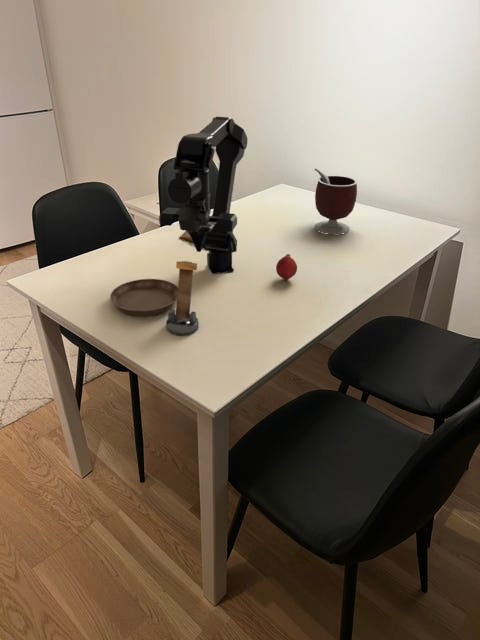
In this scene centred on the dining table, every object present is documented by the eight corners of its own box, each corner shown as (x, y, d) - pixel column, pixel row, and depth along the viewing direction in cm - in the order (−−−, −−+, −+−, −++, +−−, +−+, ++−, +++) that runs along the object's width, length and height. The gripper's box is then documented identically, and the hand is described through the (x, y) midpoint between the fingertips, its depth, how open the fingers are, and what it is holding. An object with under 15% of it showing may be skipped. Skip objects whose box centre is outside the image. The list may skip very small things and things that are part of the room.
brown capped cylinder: (176, 314, 120) (180, 260, 118) (195, 317, 119) (199, 262, 117) (169, 317, 115) (173, 260, 113) (188, 320, 114) (193, 263, 112)
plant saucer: (142, 282, 139) (141, 272, 137) (194, 298, 131) (193, 287, 129) (96, 309, 125) (95, 298, 124) (151, 328, 118) (150, 317, 116)
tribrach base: (173, 317, 122) (172, 302, 120) (202, 321, 121) (202, 306, 119) (161, 333, 116) (160, 318, 114) (192, 337, 114) (192, 322, 112)
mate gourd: (357, 226, 177) (365, 170, 167) (342, 239, 167) (350, 179, 157) (318, 218, 184) (323, 163, 174) (301, 229, 174) (306, 172, 164)
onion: (282, 286, 137) (284, 259, 133) (271, 277, 141) (273, 251, 137) (299, 282, 139) (302, 255, 135) (288, 273, 144) (290, 248, 140)
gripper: (148, 197, 114) (153, 259, 122) (226, 205, 110) (226, 268, 119) (165, 184, 123) (169, 243, 131) (238, 190, 120) (237, 250, 128)
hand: (199, 251), depth 127 cm, fingers closed
